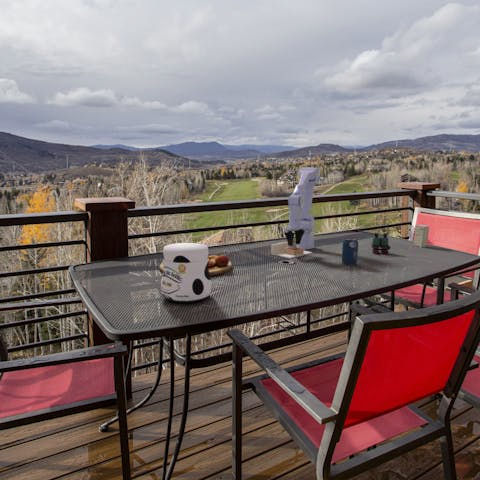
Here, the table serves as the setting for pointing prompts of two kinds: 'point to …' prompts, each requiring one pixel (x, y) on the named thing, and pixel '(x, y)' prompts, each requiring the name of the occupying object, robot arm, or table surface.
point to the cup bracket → (287, 251)
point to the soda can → (350, 251)
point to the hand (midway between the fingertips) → (294, 244)
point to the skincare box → (421, 235)
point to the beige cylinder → (293, 245)
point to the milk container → (185, 272)
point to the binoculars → (380, 244)
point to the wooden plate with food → (215, 265)
